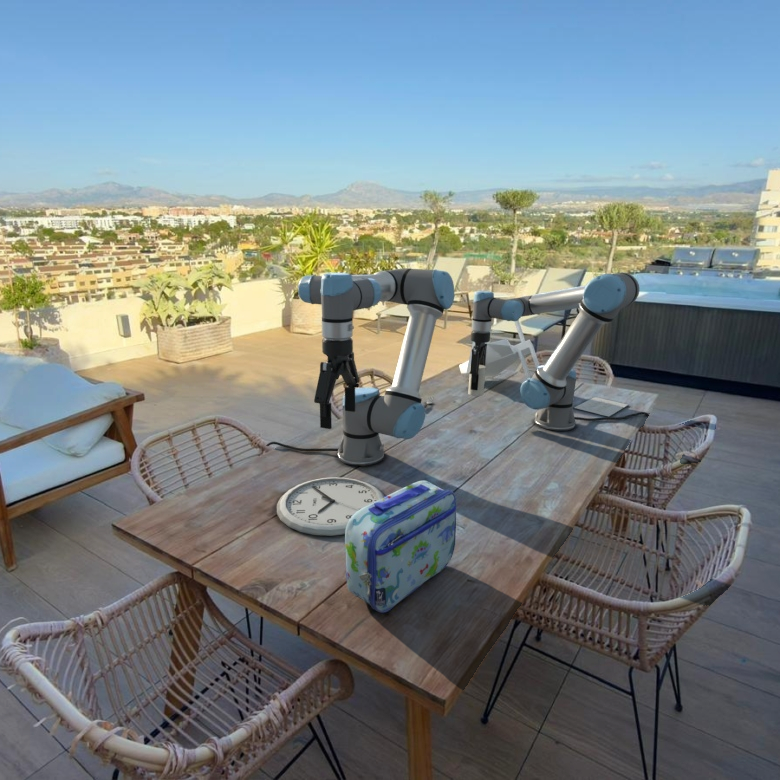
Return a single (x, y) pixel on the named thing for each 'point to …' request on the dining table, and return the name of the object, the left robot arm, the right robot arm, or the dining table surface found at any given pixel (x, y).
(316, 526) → the wall clock
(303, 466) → the dining table surface
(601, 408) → the invitation card
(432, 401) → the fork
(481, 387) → the canister
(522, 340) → the white plastic object
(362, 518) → the lunch box
